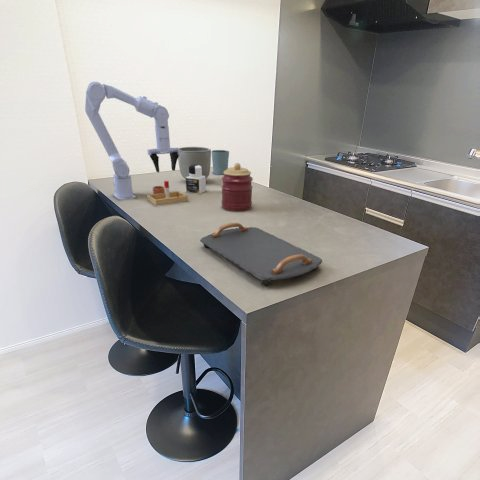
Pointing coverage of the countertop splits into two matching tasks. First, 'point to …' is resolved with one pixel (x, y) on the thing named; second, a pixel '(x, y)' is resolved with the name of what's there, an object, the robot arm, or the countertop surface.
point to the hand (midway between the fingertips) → (165, 171)
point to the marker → (167, 189)
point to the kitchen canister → (237, 189)
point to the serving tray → (260, 252)
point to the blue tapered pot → (220, 161)
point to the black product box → (195, 180)
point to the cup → (158, 189)
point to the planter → (194, 160)
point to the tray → (161, 198)
